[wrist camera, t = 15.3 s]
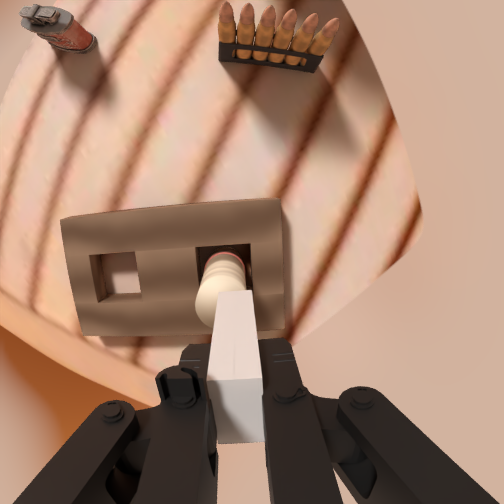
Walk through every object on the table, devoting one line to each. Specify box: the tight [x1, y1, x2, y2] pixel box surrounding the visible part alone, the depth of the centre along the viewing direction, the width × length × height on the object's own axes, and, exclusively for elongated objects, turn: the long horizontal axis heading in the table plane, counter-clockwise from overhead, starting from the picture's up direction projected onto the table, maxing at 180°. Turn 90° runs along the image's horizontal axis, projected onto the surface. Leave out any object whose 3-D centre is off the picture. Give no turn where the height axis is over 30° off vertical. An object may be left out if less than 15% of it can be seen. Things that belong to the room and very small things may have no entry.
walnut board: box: [60, 198, 285, 336], centre depth 34 cm, size 14×24×3 cm, turn 93°
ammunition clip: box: [218, 1, 340, 73], centre depth 25 cm, size 11×2×12 cm, turn 84°
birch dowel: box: [195, 247, 246, 328], centre depth 29 cm, size 4×4×12 cm
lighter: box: [19, 4, 97, 53], centre depth 23 cm, size 8×3×10 cm, turn 64°
